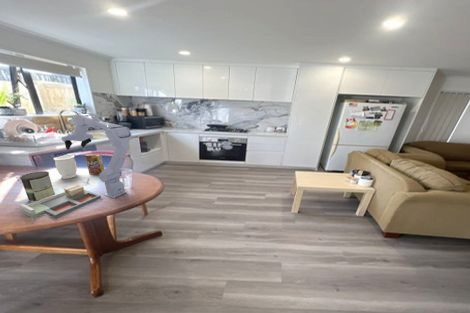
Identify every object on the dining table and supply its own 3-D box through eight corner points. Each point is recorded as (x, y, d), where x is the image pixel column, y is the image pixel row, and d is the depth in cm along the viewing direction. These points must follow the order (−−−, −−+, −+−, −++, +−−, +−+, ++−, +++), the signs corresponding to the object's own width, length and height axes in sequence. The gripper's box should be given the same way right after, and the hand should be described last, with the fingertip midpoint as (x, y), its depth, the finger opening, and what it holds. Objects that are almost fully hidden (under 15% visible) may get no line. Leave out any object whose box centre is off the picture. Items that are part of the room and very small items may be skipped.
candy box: (88, 174, 127) (84, 155, 123) (92, 172, 131) (88, 153, 127) (101, 174, 128) (97, 155, 124) (105, 172, 132) (101, 153, 128)
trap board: (101, 198, 98) (99, 191, 97) (44, 223, 76) (41, 215, 75) (80, 191, 104) (78, 184, 103) (23, 212, 83) (19, 204, 82)
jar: (71, 173, 128) (66, 154, 124) (82, 174, 127) (78, 155, 123) (55, 178, 118) (48, 158, 114) (67, 180, 117) (62, 160, 113)
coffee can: (23, 203, 90) (14, 179, 86) (35, 194, 99) (28, 172, 95) (49, 200, 94) (41, 177, 90) (59, 191, 103) (52, 170, 99)
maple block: (84, 192, 99) (83, 186, 98) (72, 197, 94) (70, 191, 93) (78, 190, 101) (76, 184, 100) (65, 195, 96) (64, 188, 95)
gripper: (90, 125, 105) (84, 141, 110) (60, 127, 92) (55, 144, 97) (97, 133, 104) (91, 148, 110) (68, 136, 91) (62, 153, 97)
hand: (75, 147), depth 103 cm, fingers open, 7 cm apart
